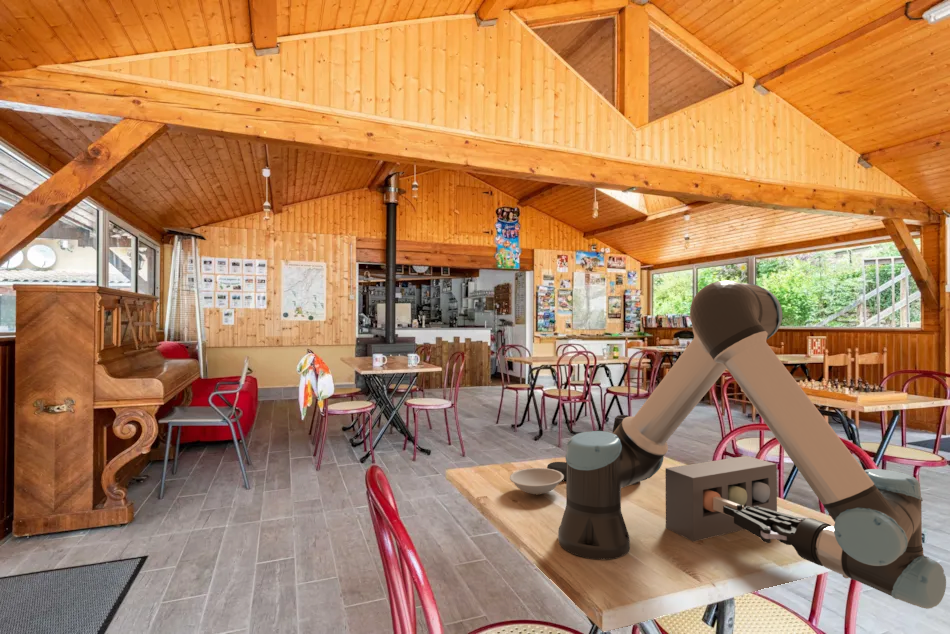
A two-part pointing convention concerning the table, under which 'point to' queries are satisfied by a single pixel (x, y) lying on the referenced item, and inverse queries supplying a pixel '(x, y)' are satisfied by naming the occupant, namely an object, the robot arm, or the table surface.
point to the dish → (536, 480)
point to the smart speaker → (558, 467)
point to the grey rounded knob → (759, 491)
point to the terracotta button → (709, 499)
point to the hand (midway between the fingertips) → (715, 502)
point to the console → (694, 478)
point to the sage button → (736, 494)
